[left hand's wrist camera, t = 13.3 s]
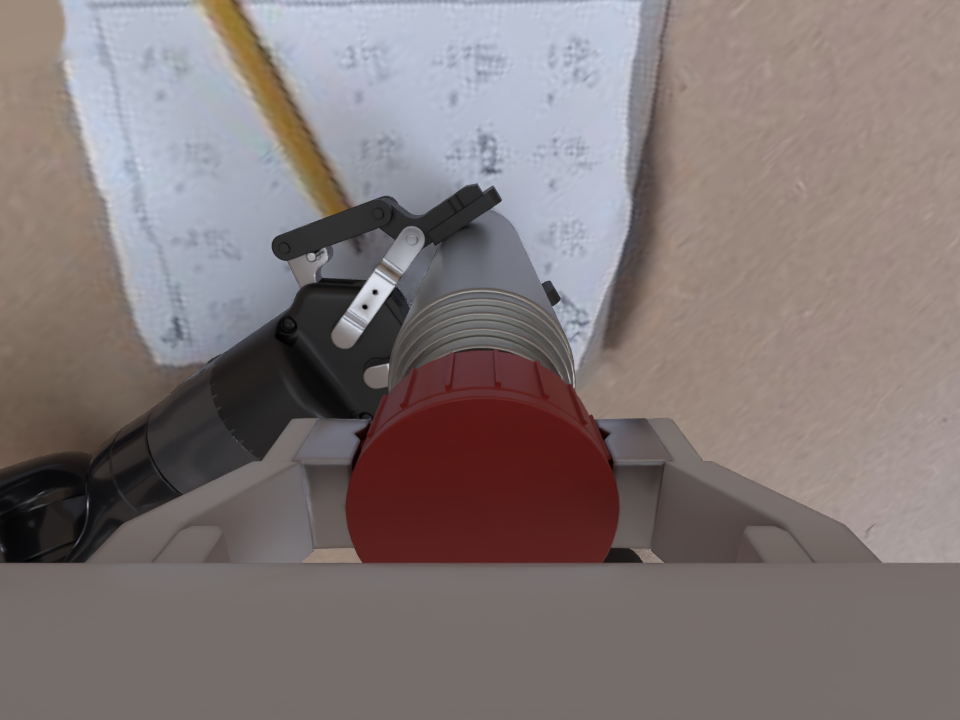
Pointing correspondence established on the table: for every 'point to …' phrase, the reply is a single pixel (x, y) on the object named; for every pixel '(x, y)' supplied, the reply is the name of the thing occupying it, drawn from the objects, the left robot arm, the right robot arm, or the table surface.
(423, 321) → the bottle
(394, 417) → the cap
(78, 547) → the right robot arm
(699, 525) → the left robot arm
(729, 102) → the table surface
